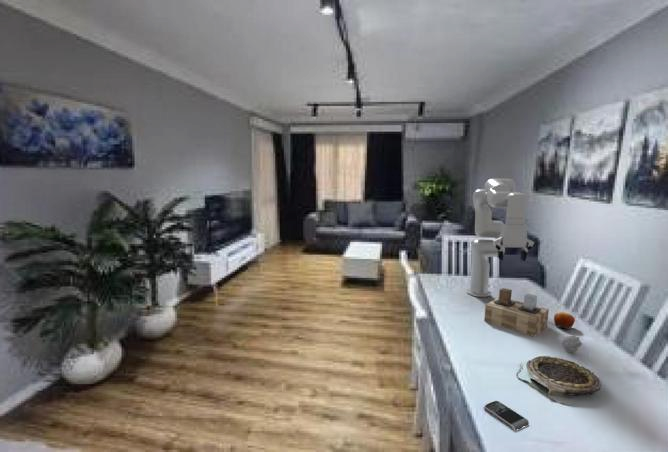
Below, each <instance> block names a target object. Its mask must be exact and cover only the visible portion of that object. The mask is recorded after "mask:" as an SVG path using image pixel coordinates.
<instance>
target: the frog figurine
mask: <svg viewBox="0 0 668 452" xmlns="http://www.w3.org/2000/svg"><path fill="white" fill-rule="evenodd" d="M561 344H562V347H563V349H564V351H566V352H567V353H571V354H572V353H573V354H574V353H576V352H577V351H578V350H579V348H580V347H581V346H582V344H583V343H582V341H581V339H580V337H579V336H575V335H570V336H564V337H563V338H562V340H561Z"/></svg>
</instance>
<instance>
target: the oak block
mask: <svg viewBox="0 0 668 452" xmlns="http://www.w3.org/2000/svg"><path fill="white" fill-rule="evenodd" d="M523 306H524V302H521V301H519V300H515V299H511V303H509V304H504V303H500V302H499V296H498V297H497V298H495V299H493V300H492V301H490V302H488V303H485V308H484V319H483V320H484V322H487V323H490V324H493V325H497V326H500V327H503V328H507V329H509V330H513V331H516V332H519V333H523V334H526V335H529V336H532V337H536V336H538V334H539V333H541V331H543V330H544V329H545V328H546V327H547V326H548V319H549V309H548V308H546V307H542V306H539V305H538V306H537V305H536V310H534V311H530V310H527V309H523Z"/></svg>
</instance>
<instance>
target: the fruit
mask: <svg viewBox="0 0 668 452" xmlns="http://www.w3.org/2000/svg"><path fill="white" fill-rule="evenodd" d="M575 321H576V319H575V316H573V315H572V314H570V313H568V312H564V311H560V312H556V313H555V314H554V316H553V322H554V324H555V326H556V327H558V328H564V329H567V330H568V331H569V329H571V328H572V327H573V326H574V325H575Z"/></svg>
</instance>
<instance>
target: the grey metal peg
mask: <svg viewBox="0 0 668 452" xmlns="http://www.w3.org/2000/svg"><path fill="white" fill-rule="evenodd" d="M537 300H538V295H536V294H531V293H527V294H525V295H524V297H523V303H524V306H523V309H527V310H530V311H534V310H536V306H537V302H538V301H537Z"/></svg>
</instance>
